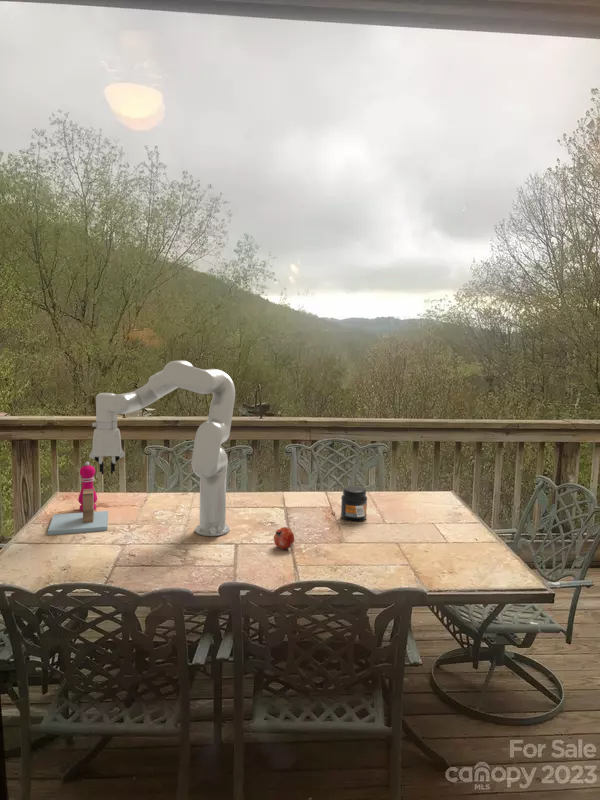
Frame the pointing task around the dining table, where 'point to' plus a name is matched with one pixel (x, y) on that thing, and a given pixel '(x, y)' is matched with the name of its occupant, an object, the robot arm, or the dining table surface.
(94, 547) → the dining table surface
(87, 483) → the pepper mill
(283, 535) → the pomegranate
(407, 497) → the dining table surface
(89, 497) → the walnut slab
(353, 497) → the supplement container
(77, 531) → the board
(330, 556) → the dining table surface
